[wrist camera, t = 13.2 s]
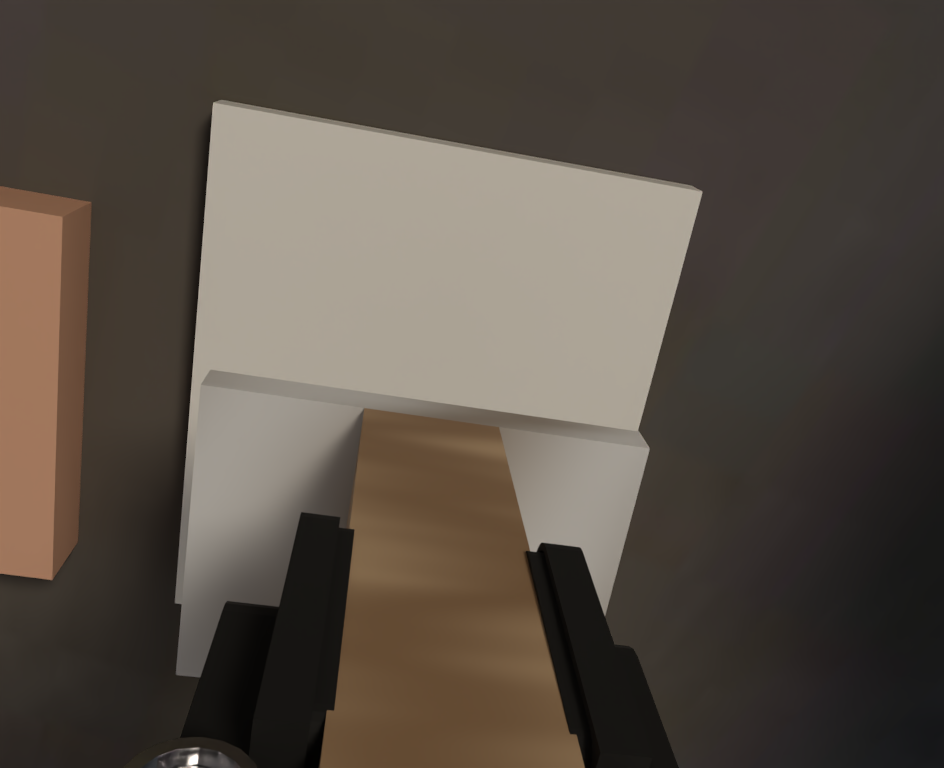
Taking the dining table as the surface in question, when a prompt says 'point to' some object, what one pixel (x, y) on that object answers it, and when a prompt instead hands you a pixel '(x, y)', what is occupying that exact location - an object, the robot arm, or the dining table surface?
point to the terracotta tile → (41, 377)
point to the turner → (409, 556)
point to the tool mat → (430, 271)
